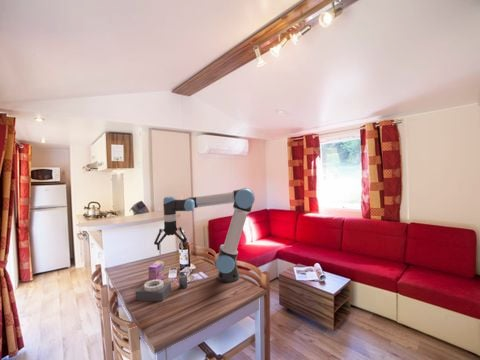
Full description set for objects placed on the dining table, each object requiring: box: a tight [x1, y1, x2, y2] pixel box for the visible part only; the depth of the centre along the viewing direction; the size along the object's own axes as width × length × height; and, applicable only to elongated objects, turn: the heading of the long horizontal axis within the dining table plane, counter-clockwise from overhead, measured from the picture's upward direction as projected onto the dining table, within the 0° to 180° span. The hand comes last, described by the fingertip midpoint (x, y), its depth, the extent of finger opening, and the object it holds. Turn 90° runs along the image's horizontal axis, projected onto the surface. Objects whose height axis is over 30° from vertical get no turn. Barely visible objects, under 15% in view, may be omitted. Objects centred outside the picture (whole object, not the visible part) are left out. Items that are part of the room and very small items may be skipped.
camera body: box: [135, 279, 172, 302], centre depth 135 cm, size 16×12×7 cm
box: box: [148, 260, 165, 281], centre depth 154 cm, size 10×6×12 cm, turn 168°
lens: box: [178, 271, 188, 290], centre depth 145 cm, size 5×5×9 cm
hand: (171, 253), depth 146 cm, fingers open, 13 cm apart
